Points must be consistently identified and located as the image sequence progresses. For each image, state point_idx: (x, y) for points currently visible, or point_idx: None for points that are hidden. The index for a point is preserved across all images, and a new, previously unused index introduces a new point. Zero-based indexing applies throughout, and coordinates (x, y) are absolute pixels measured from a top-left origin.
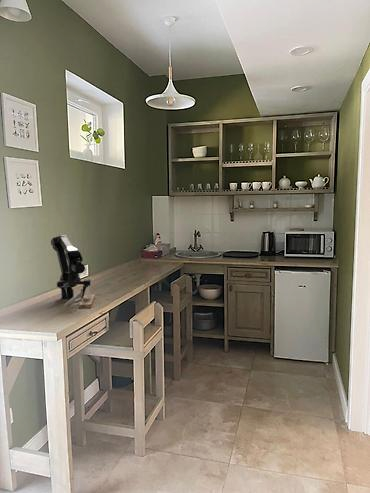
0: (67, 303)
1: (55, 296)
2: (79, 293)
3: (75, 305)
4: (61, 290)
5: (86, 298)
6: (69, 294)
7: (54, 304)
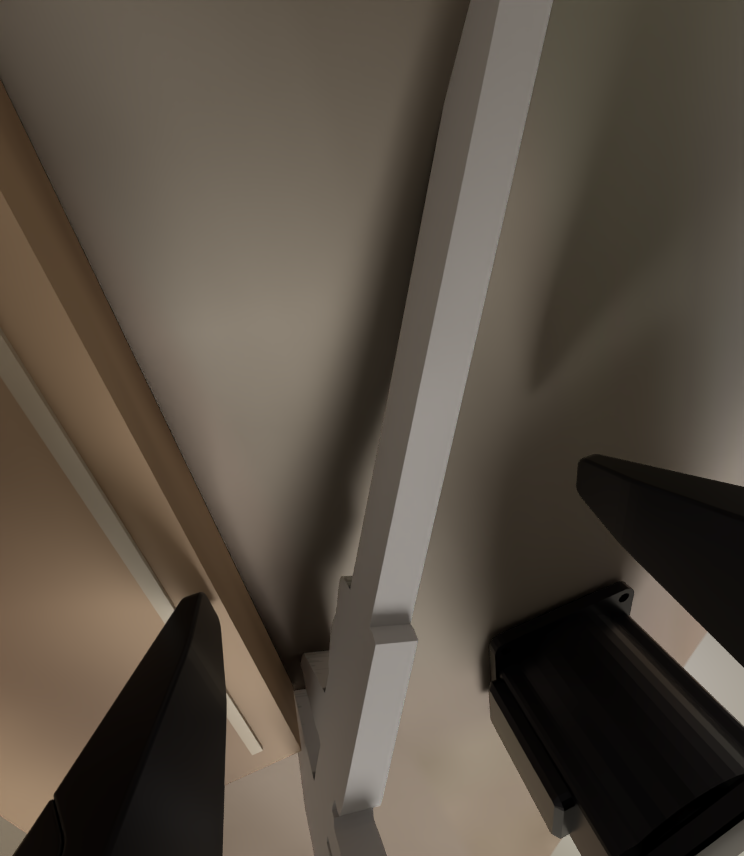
0: (479, 62)
1: (677, 649)
2: (357, 721)
3: (186, 27)
4: (733, 717)
5: (13, 546)
6: (560, 688)
7: (719, 238)
